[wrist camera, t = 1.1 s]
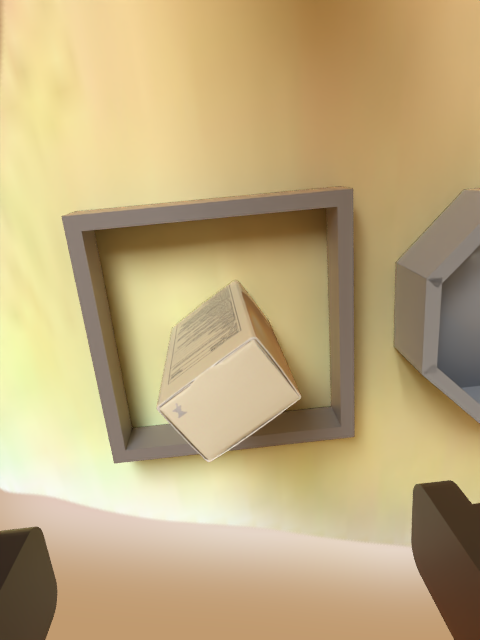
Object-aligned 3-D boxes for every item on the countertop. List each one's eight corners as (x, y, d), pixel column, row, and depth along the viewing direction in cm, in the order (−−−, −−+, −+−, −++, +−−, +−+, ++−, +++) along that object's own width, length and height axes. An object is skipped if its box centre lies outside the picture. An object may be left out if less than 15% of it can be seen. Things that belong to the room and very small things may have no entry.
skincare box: (206, 368, 35) (204, 469, 23) (169, 326, 34) (148, 412, 22) (274, 319, 34) (306, 400, 22) (239, 274, 33) (255, 335, 21)
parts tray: (75, 211, 31) (61, 216, 28) (340, 186, 31) (353, 188, 28) (121, 440, 37) (114, 463, 34) (343, 415, 37) (354, 436, 34)
